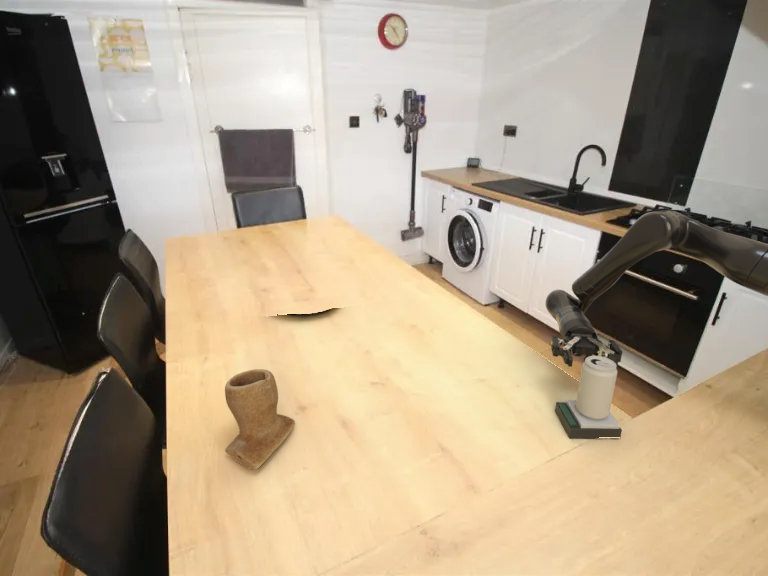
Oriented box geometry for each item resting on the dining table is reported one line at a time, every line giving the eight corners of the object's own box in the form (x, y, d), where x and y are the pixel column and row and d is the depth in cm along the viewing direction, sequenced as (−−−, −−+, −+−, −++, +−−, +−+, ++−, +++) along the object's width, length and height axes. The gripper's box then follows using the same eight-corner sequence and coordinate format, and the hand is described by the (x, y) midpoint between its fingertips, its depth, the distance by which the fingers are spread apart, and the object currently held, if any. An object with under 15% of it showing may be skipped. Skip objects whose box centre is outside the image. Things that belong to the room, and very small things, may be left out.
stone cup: (258, 414, 94) (249, 357, 88) (303, 426, 89) (295, 366, 84) (209, 460, 81) (195, 396, 75) (258, 477, 76) (247, 410, 71)
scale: (600, 411, 91) (602, 399, 90) (620, 439, 83) (622, 426, 82) (554, 411, 92) (556, 399, 91) (569, 438, 83) (571, 426, 82)
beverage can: (582, 398, 91) (590, 351, 86) (613, 411, 86) (623, 361, 82) (570, 412, 86) (577, 362, 82) (602, 426, 82) (612, 374, 78)
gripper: (548, 315, 103) (558, 346, 88) (610, 319, 99) (632, 352, 85) (544, 342, 105) (554, 376, 90) (605, 347, 102) (625, 383, 87)
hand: (592, 364), depth 88 cm, fingers open, 8 cm apart
